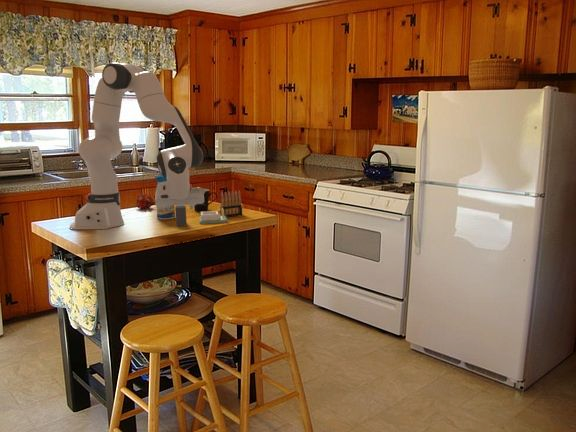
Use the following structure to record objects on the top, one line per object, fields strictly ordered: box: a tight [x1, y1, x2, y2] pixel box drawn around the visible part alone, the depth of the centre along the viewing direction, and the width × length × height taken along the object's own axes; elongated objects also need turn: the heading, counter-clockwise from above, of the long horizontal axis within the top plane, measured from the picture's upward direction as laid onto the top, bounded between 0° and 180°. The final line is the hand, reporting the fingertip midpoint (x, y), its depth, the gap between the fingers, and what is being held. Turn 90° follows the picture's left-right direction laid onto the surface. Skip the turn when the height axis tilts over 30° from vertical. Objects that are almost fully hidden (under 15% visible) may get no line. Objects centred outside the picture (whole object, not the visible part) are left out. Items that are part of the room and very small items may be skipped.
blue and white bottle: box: [154, 174, 176, 221], centre depth 256 cm, size 8×8×20 cm
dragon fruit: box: [135, 192, 156, 211], centre depth 281 cm, size 8×8×12 cm
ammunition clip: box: [219, 190, 243, 218], centre depth 259 cm, size 11×2×12 cm, turn 123°
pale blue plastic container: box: [198, 208, 228, 225], centre depth 249 cm, size 12×10×5 cm
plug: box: [174, 205, 188, 227], centre depth 242 cm, size 4×4×9 cm
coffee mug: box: [194, 188, 218, 212], centre depth 274 cm, size 12×9×10 cm
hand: (180, 208), depth 238 cm, fingers open, 8 cm apart
